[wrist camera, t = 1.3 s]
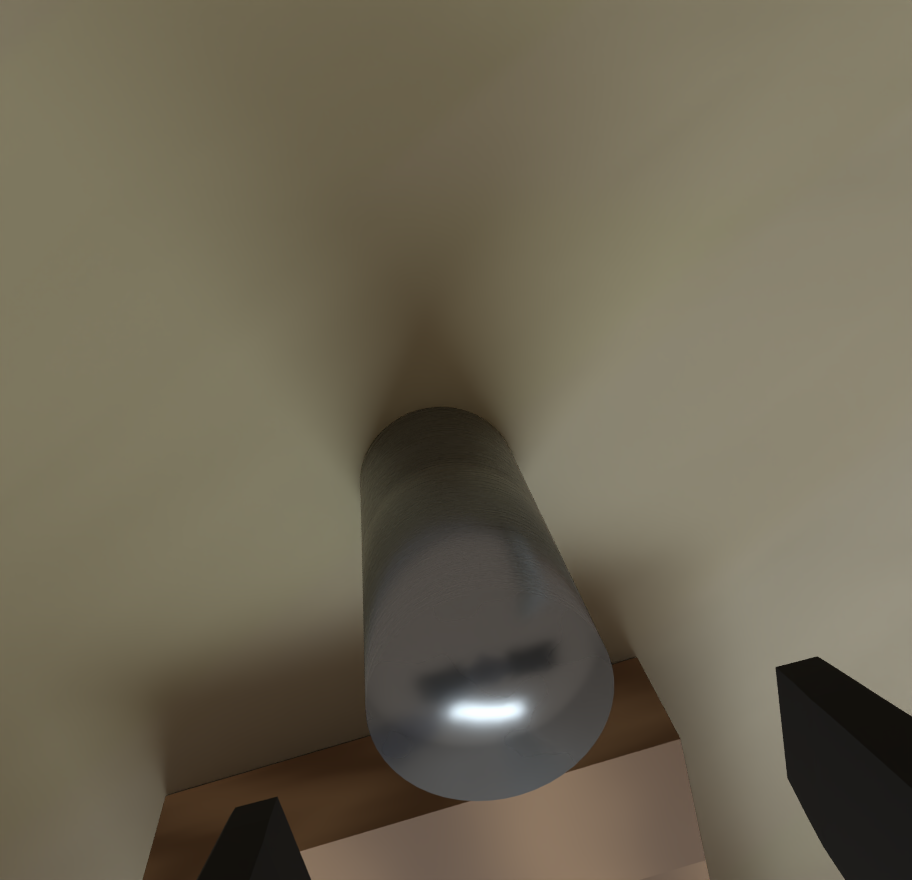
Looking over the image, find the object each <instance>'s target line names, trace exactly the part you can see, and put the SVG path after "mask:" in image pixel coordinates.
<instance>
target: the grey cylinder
mask: <svg viewBox="0 0 912 880" xmlns="http://www.w3.org/2000/svg"><path fill="white" fill-rule="evenodd" d="M360 488H361V532H362V576H363V620H364V664H365V708H366V718H367V725H368V728H369V732H370V735H371V738H372V740H373V742H374V744H375V746H376V748H377V750H378V752H379V753H380V755H381V756H382V758H383V759H384V760H385V762H386V763H387V764H388V765H389V766H390V767H391V768H392V769H393V770H394V771H395V772H396V773H397V774H399V775H400V776H401V777H402V778H404V779H405V780H406V781H408V782H410V783H411V784H413V785H415V786H416V787H418V788H421V789H423V790H425V791H427V792H429V793H432V794H436V795H439V796H442V797H446V798H451V799H456V800H465V801H491V800H499V799H506V798H510V797H514V796H518V795H522V794H525V793H527V792H530V791H533V790H536V789H538V788H540V787H542V786H544V785H546V784H548V783H550V782H552V781H553V780H555V779H557V778H558V777H560V776H562V775H563V774H564V773H566V772H567V771H568V770H570V769H571V768H572V767H574V766H575V765H576V764H577V763H578V762H579V761H580V760H581V759H582V758H583V757H584V756H585V755H586V754H587V753H588V751H589V750H590V749H591V748H592V746H593V745H594V744H595V742H596V741H597V739H598V738H599V736H600V734H601V733H602V731H603V729H604V727H605V725H606V722H607V720H608V717H609V714H610V711H611V708H612V703H613V696H614V675H613V669H612V664H611V661H610V658H609V655H608V652H607V650H606V648H605V646H604V644H603V642H602V640H601V637H600V635H599V633H598V631H597V629H596V627H595V625H594V623H593V621H592V619H591V617H590V615H589V613H588V611H587V608H586V606H585V604H584V602H583V600H582V598H581V596H580V594H579V592H578V590H577V588H576V586H575V584H574V581H573V579H572V577H571V575H570V573H569V571H568V569H567V567H566V565H565V563H564V561H563V559H562V557H561V555H560V552H559V550H558V548H557V546H556V544H555V542H554V540H553V538H552V536H551V534H550V532H549V530H548V528H547V525H546V523H545V521H544V519H543V517H542V515H541V513H540V511H539V509H538V507H537V505H536V503H535V501H534V498H533V496H532V494H531V492H530V490H529V488H528V486H527V484H526V482H525V480H524V478H523V476H522V474H521V472H520V469H519V467H518V465H517V463H516V461H515V459H514V457H513V455H512V453H511V451H510V449H509V447H508V445H507V443H506V441H505V440H504V438H503V437H502V436H501V434H500V433H499V432H498V431H497V430H496V429H495V428H494V427H493V426H492V425H491V424H489V423H488V422H487V421H485V420H484V419H482V418H480V417H479V416H477V415H475V414H472V413H470V412H467V411H464V410H460V409H455V408H449V407H435V408H426V409H422V410H418V411H415V412H412V413H409V414H407V415H405V416H403V417H401V418H399V419H397V420H396V421H394V422H393V423H391V424H390V425H389V426H388V427H386V428H385V429H384V430H383V431H382V432H381V433H380V434H379V435H378V437H377V438H376V439H375V440H374V442H373V443H372V445H371V446H370V448H369V450H368V452H367V454H366V456H365V459H364V462H363V465H362V471H361V482H360Z"/></svg>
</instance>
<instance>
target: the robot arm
mask: <svg viewBox="0 0 912 880" xmlns="http://www.w3.org/2000/svg"><path fill="white" fill-rule="evenodd" d="M776 676H777V685H778V695H779V704H780V713H781V722H782V732H783V741H784V750H785V759H786V769H787V778H788V780H789V782H790V784H791V786H792V788H793V790H794V792H795V794H796V795H797V797H798V799H799V801H800V803H801V805H802V807H803V809H804V811H805V813H806V815H807V817H808V819H809V821H810V823H811V824H812V826H813V828H814V830H815V832H816V834H817V836H818V838H819V839H820V841H821V843H822V845H823V847H824V848H825V850H826V851H827V853H828V854H829V856H830V858H831V859H832V861H833V862H834V864H835V865H836V867H837V868H838V870H839V871H840V873H841V874H842V876H843V877H844V879H845V880H912V716H910V715H909V714H907V713H905V712H904V711H902V710H901V709H899V708H898V707H896V706H894V705H893V704H891V703H890V702H888V701H887V700H885V699H883V698H882V697H880V696H879V695H877V694H876V693H874V692H872V691H871V690H869V689H868V688H866V687H865V686H863V685H862V684H860V683H858V682H857V681H855V680H854V679H852V678H851V677H849V676H848V675H846V674H845V673H843V672H841V671H840V670H838V669H837V668H835V667H834V666H832V665H830V664H829V663H827V662H826V661H824V660H822V659H821V658H819V657H818V656H817V657H813V658H809V659H806V660H802V661H798V662H794V663H790V664H786V665H782V666H779V667H776ZM196 880H311V878H310V875H309V873H308V870H307V868H306V865H305V863H304V860H303V858H302V856H301V853H300V851H299V848H298V846H297V843H296V841H295V838H294V836H293V833H292V831H291V828H290V826H289V823H288V821H287V819H286V816H285V814H284V811H283V809H282V806H281V804H280V801H279V799H278V796H277V797H273V798H270V799H266V800H262V801H258V802H254V803H250V804H246V805H243V806H239V807H235V809H234V810H233V812H232V813H231V815H230V817H229V819H228V820H227V822H226V824H225V826H224V828H223V830H222V832H221V834H220V836H219V837H218V839H217V841H216V843H215V845H214V847H213V849H212V851H211V853H210V855H209V857H208V859H207V860H206V862H205V864H204V866H203V868H202V870H201V872H200V874H199V876H198V878H197V879H196Z"/></svg>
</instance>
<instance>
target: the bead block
mask: <svg viewBox="0 0 912 880" xmlns="http://www.w3.org/2000/svg"><path fill="white" fill-rule="evenodd" d="M612 669H613V675H614V696H613V703H612V708H611V711H610V714H609V717H608V720H607V722H606V725H605V727H604V729H603V731H602V733H601V734H600V736H599V738H598V739H597V741H596V742H595V744H594V745H593V746H592V748H591V749H590V750H589V751H588V753H587V754H586V755H585V756H584V757H583V758H582V759H581V760H580V761H579V762H578V763H577V764H576V765H575V766H574V767H572V768H571V769H570V770H568V771H567V772H566V773H564V774H563V775H562V776H560V777H558V778H557V779H555V780H553V781H552V782H550V783H548V784H546V785H544V786H542V787H540V788H538V789H536V790H533V791H530V792H527V793H525V794H522V795H518V796H514V797H510V798H506V799H499V800H491V801H465V800H456V799H451V798H446V797H442V796H439V795H436V794H432V793H429V792H427V791H425V790H423V789H421V788H418V787H416V786H415V785H413V784H411V783H410V782H408V781H406V780H405V779H404V778H402V777H401V776H400V775H399V774H397V773H396V772H395V771H394V770H393V769H392V768H391V767H390V766H389V765H388V764H387V763H386V762H385V760H384V759H383V758H382V756H381V755H380V753H379V752H378V750H377V748H376V746H375V744H374V742H373V740H372V738H371V736H368V737H364V738H361V739H358V740H354V741H351V742H347V743H344V744H341V745H337V746H334V747H330V748H327V749H324V750H320V751H317V752H313V753H310V754H307V755H303V756H300V757H297V758H293V759H290V760H286V761H283V762H280V763H276V764H273V765H269V766H266V767H263V768H259V769H256V770H252V771H249V772H246V773H242V774H239V775H235V776H232V777H229V778H225V779H222V780H218V781H215V782H212V783H208V784H205V785H201V786H198V787H195V788H191V789H188V790H185V791H181V792H178V793H174V794H171V795H168V796H166V797H165V801H164V804H163V808H162V812H161V815H160V819H159V823H158V826H157V830H156V833H155V837H154V841H153V844H152V848H151V852H150V855H149V859H148V862H147V866H146V870H145V873H144V877H143V880H196V879H197V878H198V876H199V874H200V872H201V870H202V868H203V866H204V864H205V862H206V860H207V859H208V857H209V855H210V853H211V851H212V849H213V847H214V845H215V843H216V841H217V839H218V837H219V836H220V834H221V832H222V830H223V828H224V826H225V824H226V822H227V820H228V819H229V817H230V815H231V813H232V812H233V810H234V809H235V807H239V806H243V805H246V804H250V803H254V802H258V801H262V800H266V799H270V798H273V797H277V796H278V799H279V801H280V804H281V806H282V809H283V811H284V814H285V816H286V819H287V821H288V823H289V826H290V828H291V831H292V833H293V836H294V838H295V841H296V843H297V846H298V848H299V851H300V853H301V856H302V858H303V860H304V863H305V865H306V868H307V870H308V873H309V875H310V878H311V880H710V878H709V874H708V869H707V864H706V859H705V854H704V850H703V845H702V840H701V835H700V831H699V826H698V821H697V816H696V811H695V807H694V802H693V797H692V792H691V787H690V783H689V778H688V773H687V768H686V763H685V759H684V754H683V749H682V744H681V739H680V737H679V735H678V733H677V732H676V730H675V728H674V726H673V724H672V722H671V720H670V718H669V717H668V715H667V713H666V711H665V709H664V707H663V705H662V703H661V701H660V700H659V698H658V696H657V694H656V692H655V690H654V688H653V686H652V685H651V683H650V681H649V679H648V677H647V675H646V673H645V671H644V670H643V668H642V666H641V664H640V662H639V660H638V658H637V657H636V658H633V659H629V660H626V661H622V662H619V663H616V664H612Z"/></svg>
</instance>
